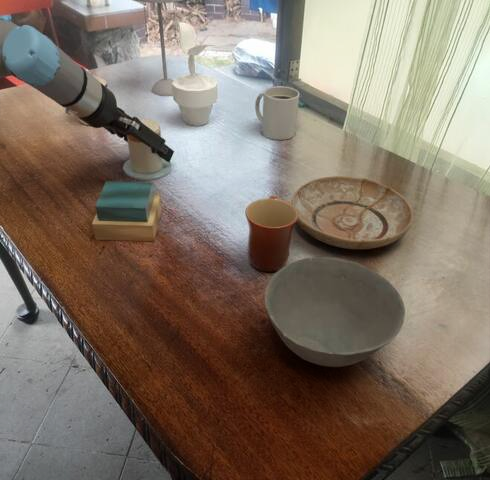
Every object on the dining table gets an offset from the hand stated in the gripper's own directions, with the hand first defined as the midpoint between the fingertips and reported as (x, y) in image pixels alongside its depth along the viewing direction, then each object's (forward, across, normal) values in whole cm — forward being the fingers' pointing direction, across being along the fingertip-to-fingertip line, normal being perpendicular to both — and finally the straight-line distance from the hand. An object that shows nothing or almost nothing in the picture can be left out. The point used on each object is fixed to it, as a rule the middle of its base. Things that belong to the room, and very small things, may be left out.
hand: (157, 151), depth 104 cm
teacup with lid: (+8, -30, +4) cm, 31 cm away
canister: (-1, 0, -4) cm, 4 cm away
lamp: (+27, -28, +23) cm, 46 cm away
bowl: (-18, +58, -22) cm, 65 cm away
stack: (-14, +12, -18) cm, 25 cm away
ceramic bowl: (+4, +47, 0) cm, 47 cm away
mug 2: (-8, +40, -12) cm, 42 cm away
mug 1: (+24, +13, +20) cm, 34 cm away
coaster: (-1, 0, -4) cm, 4 cm away
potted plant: (+19, -7, +14) cm, 24 cm away
